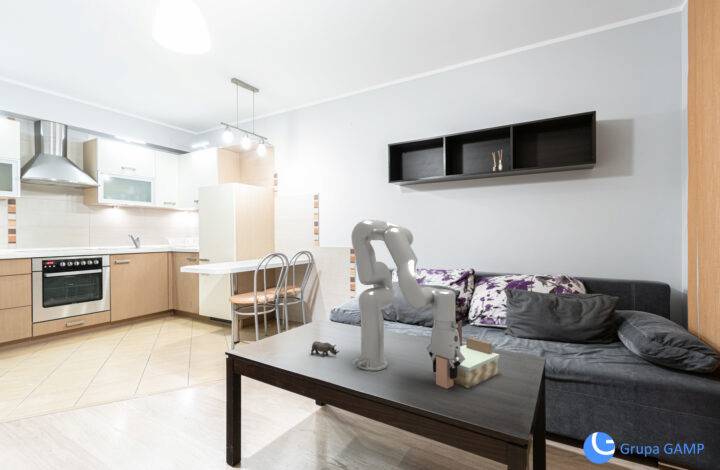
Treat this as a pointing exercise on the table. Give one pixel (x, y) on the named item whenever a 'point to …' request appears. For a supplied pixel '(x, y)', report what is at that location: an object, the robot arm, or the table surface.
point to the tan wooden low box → (476, 374)
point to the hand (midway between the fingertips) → (444, 374)
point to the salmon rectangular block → (443, 372)
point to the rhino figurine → (323, 348)
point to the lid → (476, 354)
